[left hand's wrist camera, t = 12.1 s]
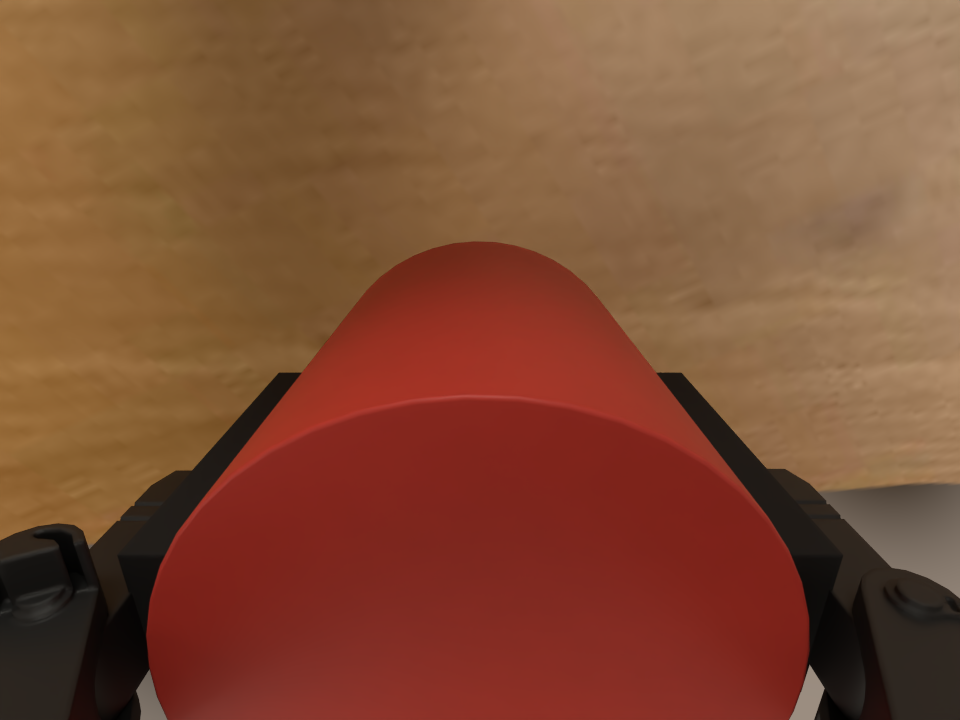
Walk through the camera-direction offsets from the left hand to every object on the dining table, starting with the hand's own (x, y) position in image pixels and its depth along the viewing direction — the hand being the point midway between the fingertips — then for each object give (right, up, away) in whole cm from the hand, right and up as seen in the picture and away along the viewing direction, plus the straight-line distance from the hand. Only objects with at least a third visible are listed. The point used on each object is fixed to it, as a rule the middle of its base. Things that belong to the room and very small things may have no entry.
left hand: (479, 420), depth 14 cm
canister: (0, +1, +2) cm, 2 cm away
